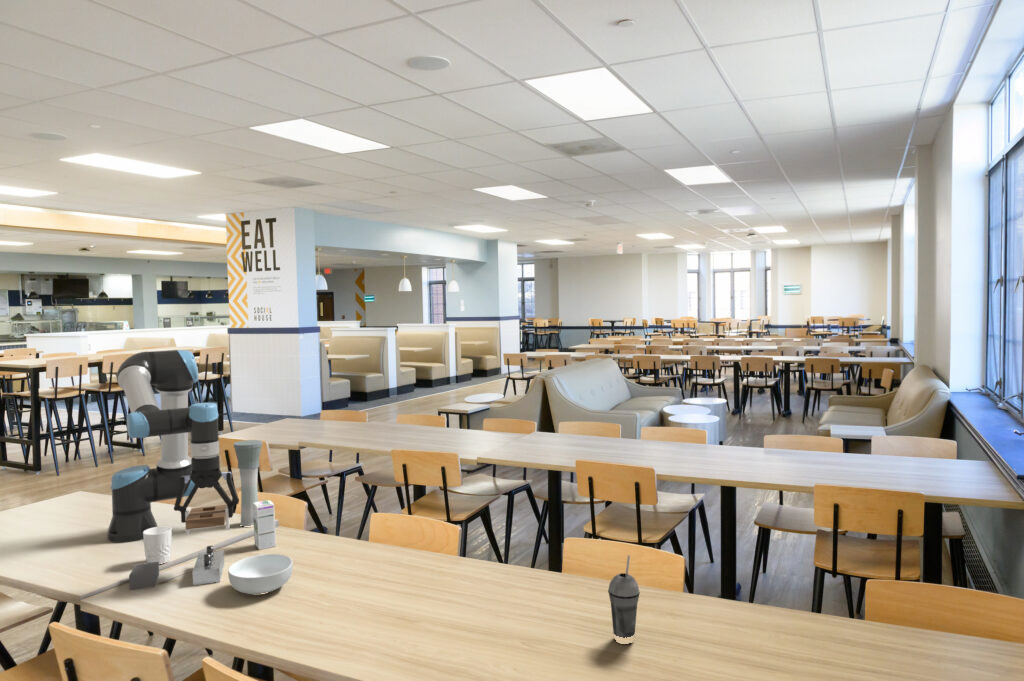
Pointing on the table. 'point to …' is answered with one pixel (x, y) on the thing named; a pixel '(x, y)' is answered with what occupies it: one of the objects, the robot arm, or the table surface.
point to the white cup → (158, 544)
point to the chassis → (208, 567)
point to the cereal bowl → (260, 573)
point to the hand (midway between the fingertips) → (208, 530)
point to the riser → (144, 575)
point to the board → (206, 517)
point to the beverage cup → (624, 603)
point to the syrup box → (264, 524)
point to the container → (248, 477)
